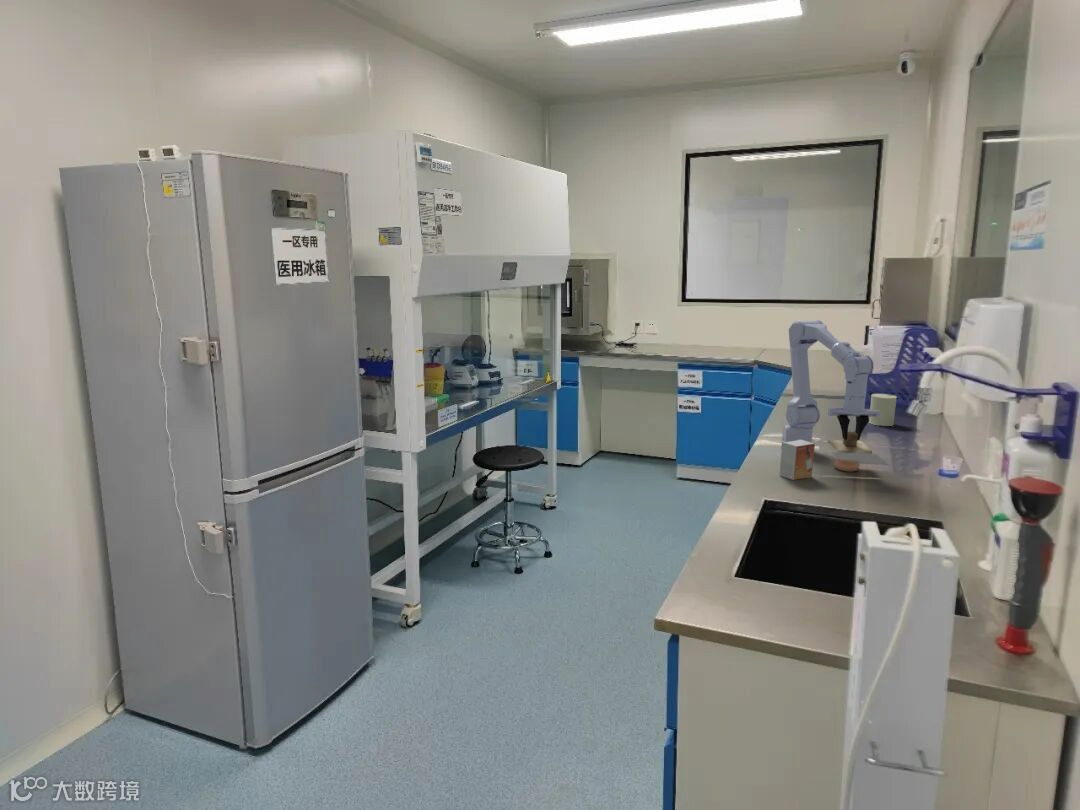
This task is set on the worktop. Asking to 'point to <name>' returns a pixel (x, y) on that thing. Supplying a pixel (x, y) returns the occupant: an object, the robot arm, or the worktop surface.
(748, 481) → the worktop surface
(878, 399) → the can
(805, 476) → the small box
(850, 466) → the pink rounded disc
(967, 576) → the worktop surface
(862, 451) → the lid
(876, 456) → the mat
